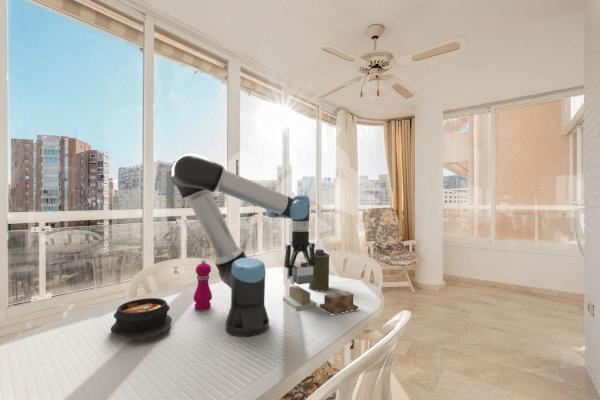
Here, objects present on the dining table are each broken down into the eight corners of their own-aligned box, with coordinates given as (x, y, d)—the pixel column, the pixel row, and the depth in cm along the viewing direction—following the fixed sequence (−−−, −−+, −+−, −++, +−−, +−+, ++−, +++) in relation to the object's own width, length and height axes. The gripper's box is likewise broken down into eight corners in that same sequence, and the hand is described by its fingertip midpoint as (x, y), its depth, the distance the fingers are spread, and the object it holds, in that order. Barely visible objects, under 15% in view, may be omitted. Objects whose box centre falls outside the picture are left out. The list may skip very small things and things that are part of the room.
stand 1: (295, 310, 122) (296, 295, 122) (282, 300, 134) (283, 287, 134) (316, 306, 127) (316, 292, 127) (302, 297, 139) (302, 284, 139)
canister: (321, 292, 146) (322, 252, 146) (304, 288, 153) (305, 249, 153) (333, 287, 155) (333, 249, 155) (316, 284, 161) (317, 247, 161)
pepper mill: (189, 308, 121) (190, 260, 122) (202, 303, 128) (203, 257, 128) (202, 312, 118) (203, 262, 118) (215, 306, 125) (216, 259, 125)
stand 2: (331, 315, 118) (332, 300, 118) (320, 307, 125) (320, 293, 125) (357, 310, 124) (358, 295, 124) (345, 303, 132) (345, 289, 132)
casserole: (103, 325, 105) (103, 301, 105) (158, 312, 118) (159, 291, 118) (120, 352, 87) (120, 323, 87) (183, 333, 99) (184, 308, 99)
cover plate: (287, 270, 134) (287, 260, 134) (301, 269, 137) (301, 258, 137) (298, 276, 124) (298, 264, 124) (313, 274, 127) (313, 263, 127)
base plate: (287, 278, 134) (287, 270, 134) (301, 276, 137) (301, 269, 137) (298, 284, 124) (298, 276, 124) (313, 282, 127) (313, 274, 127)
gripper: (283, 232, 123) (282, 287, 123) (324, 230, 132) (323, 282, 132) (276, 230, 129) (275, 283, 129) (315, 229, 139) (314, 278, 138)
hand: (299, 282), depth 131 cm, fingers closed on base plate, cover plate, 7 cm apart
